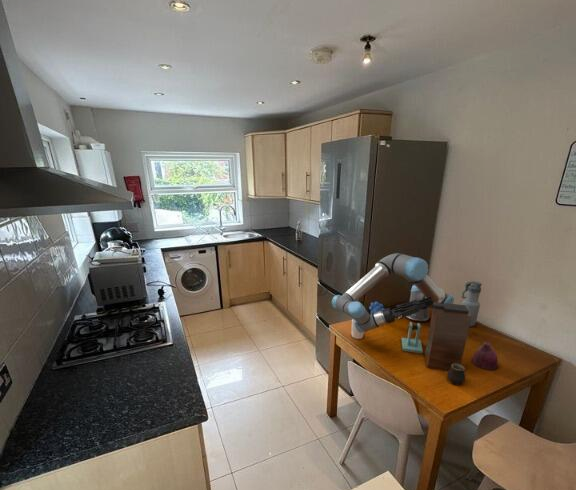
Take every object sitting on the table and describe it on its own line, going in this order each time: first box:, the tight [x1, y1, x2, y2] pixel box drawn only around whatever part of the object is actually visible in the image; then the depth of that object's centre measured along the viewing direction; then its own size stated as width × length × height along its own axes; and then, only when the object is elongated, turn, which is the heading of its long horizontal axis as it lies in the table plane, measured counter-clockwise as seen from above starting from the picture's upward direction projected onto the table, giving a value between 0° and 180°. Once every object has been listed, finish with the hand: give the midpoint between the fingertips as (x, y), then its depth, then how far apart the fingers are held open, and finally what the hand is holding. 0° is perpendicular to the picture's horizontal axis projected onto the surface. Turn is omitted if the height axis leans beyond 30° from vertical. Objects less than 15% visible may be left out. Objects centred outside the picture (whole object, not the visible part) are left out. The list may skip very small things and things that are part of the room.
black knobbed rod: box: [412, 323, 418, 331], centre depth 170 cm, size 15×4×4 cm, turn 163°
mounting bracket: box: [401, 321, 424, 354], centre depth 166 cm, size 12×10×14 cm
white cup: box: [351, 318, 365, 340], centre depth 177 cm, size 8×8×10 cm
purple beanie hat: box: [471, 341, 498, 371], centre depth 149 cm, size 10×10×15 cm
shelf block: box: [424, 303, 472, 372], centre depth 148 cm, size 12×14×30 cm
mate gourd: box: [446, 364, 466, 385], centre depth 137 cm, size 7×8×10 cm
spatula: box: [413, 301, 469, 314], centre depth 144 cm, size 7×23×2 cm, turn 73°
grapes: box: [368, 301, 386, 314], centre depth 198 cm, size 12×7×12 cm, turn 53°
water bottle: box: [461, 280, 483, 327], centre depth 190 cm, size 10×10×28 cm
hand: (432, 300), depth 144 cm, fingers closed on spatula, 2 cm apart
